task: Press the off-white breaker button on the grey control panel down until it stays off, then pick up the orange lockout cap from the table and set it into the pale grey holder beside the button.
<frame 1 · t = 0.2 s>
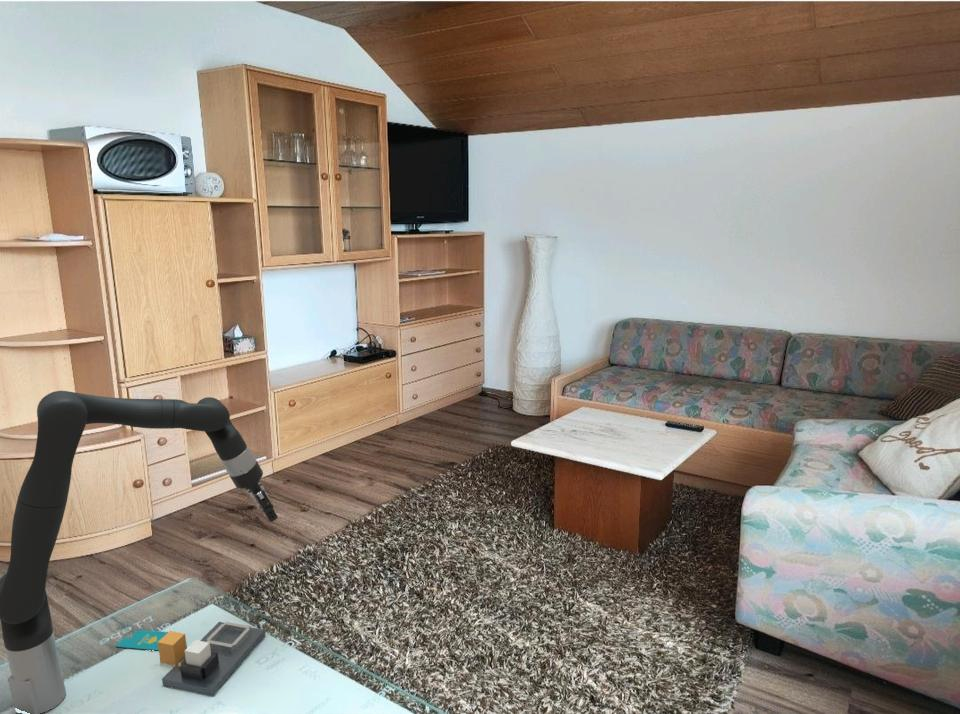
hand: (269, 513, 178), 31 cm above the table, tool tilted 20°, fingers open, 8 cm apart
breaker button: (198, 653, 161), point 6 cm above the table, slide at 0.0 cm
lockout cap: (174, 658, 169), on the table
smartphone: (149, 642, 176), on the table
grey control panel: (216, 659, 168), on the table
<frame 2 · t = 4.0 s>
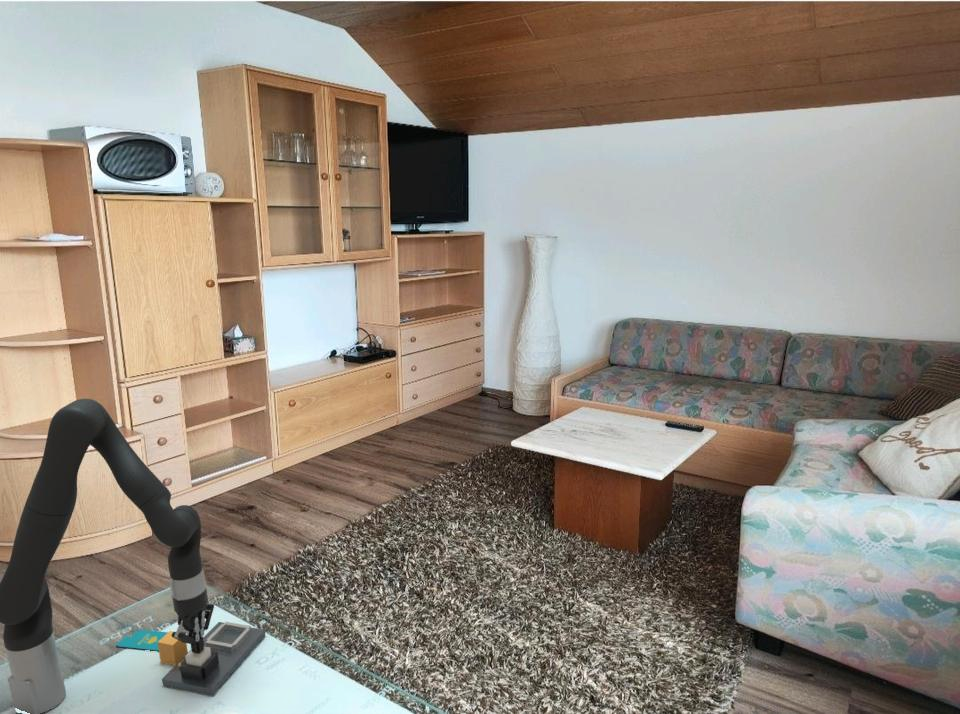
hand: (198, 651, 161), 7 cm above the table, tool pointing down, fingers closed
breaker button: (198, 658, 161), point 5 cm above the table, slide at 1.4 cm, touching gripper
everything else where it was.
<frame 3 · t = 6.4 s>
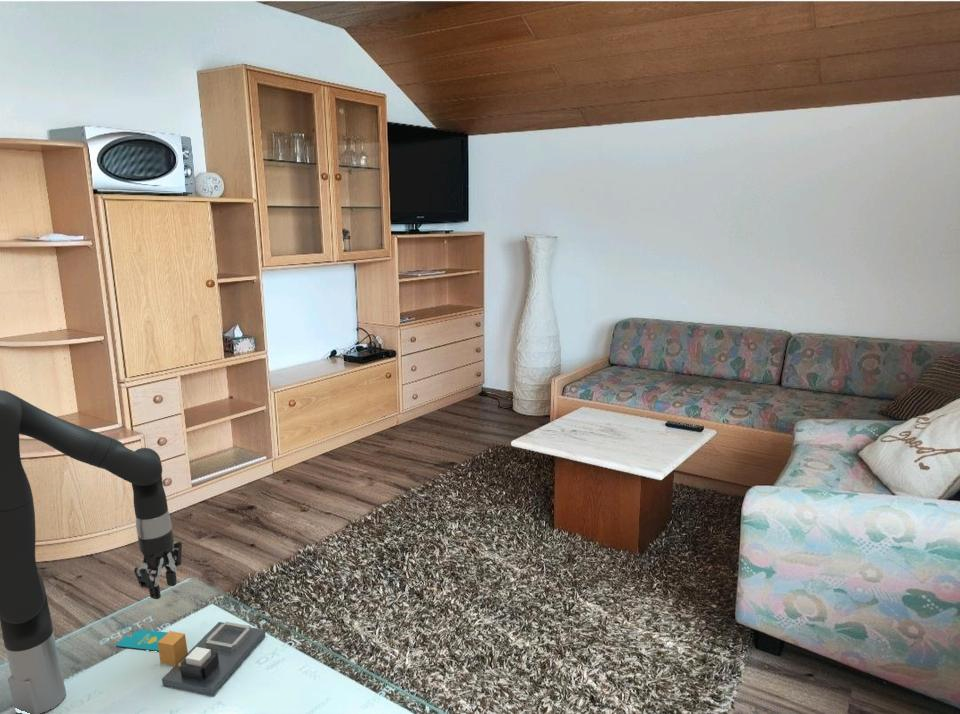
hand: (164, 591, 164), 19 cm above the table, tool pointing down, fingers open, 5 cm apart
breaker button: (199, 660, 161), point 5 cm above the table, slide at 2.0 cm
everything else where it was.
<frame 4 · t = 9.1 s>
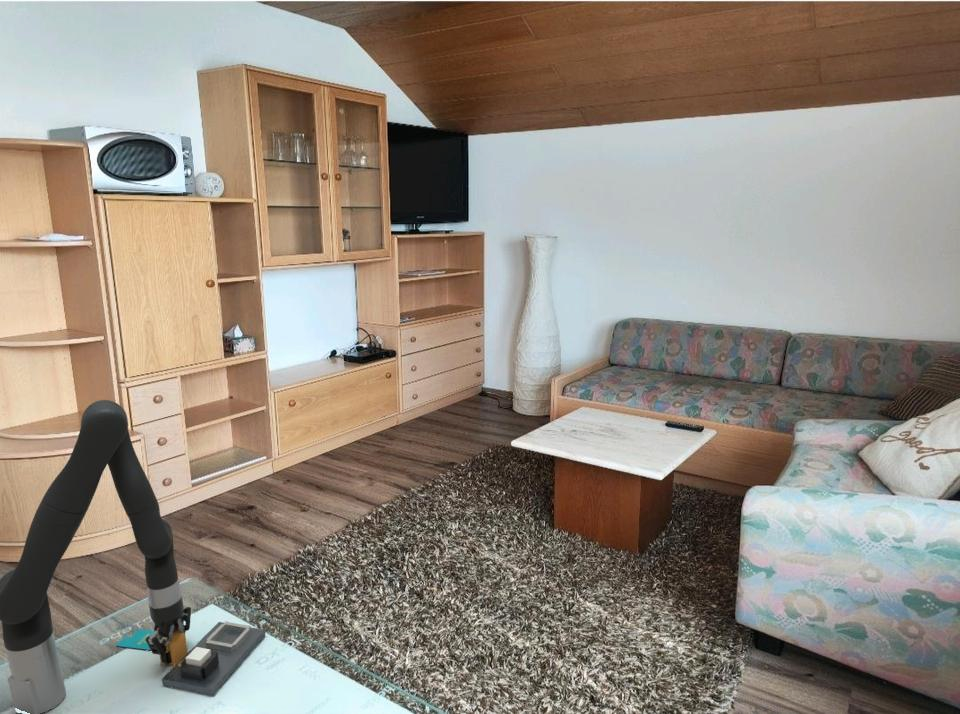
hand: (174, 656, 169), 1 cm above the table, tool pointing down, fingers closed on lockout cap, 4 cm apart
lockout cap: (174, 657, 169), on the table, touching gripper
everything else where it was.
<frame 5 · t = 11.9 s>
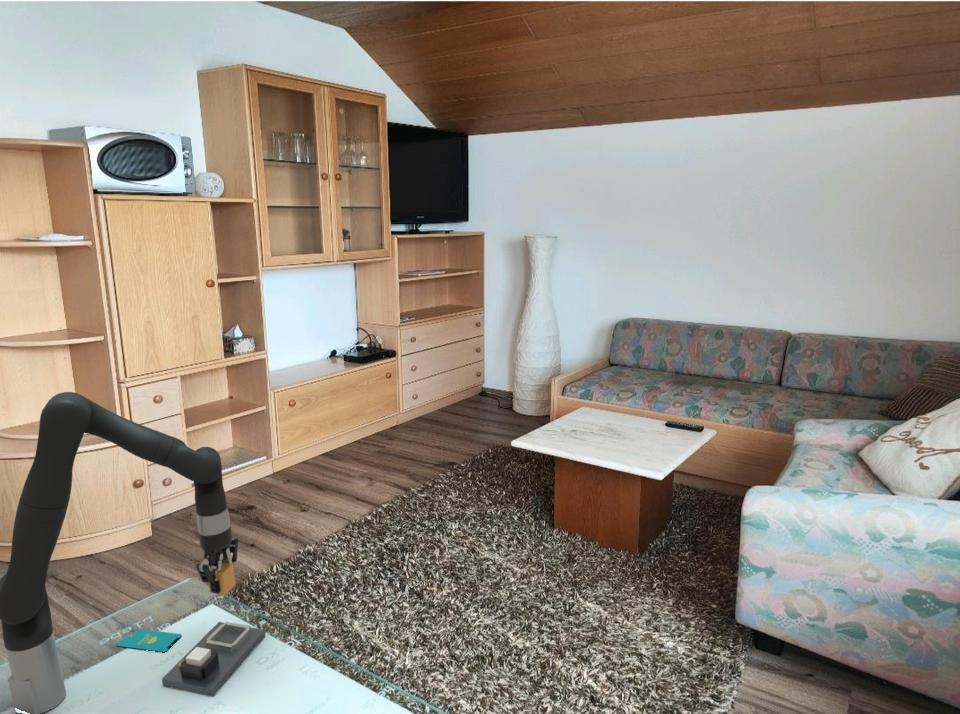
hand: (222, 586, 169), 18 cm above the table, tool pointing down, fingers closed on lockout cap, 4 cm apart
lockout cap: (222, 588, 169), point 17 cm above the table, touching gripper
everything else where it was.
when the fingers open (4 cm above the table, at t = 14.8 s): lockout cap drops 2 cm, resting on grey control panel.
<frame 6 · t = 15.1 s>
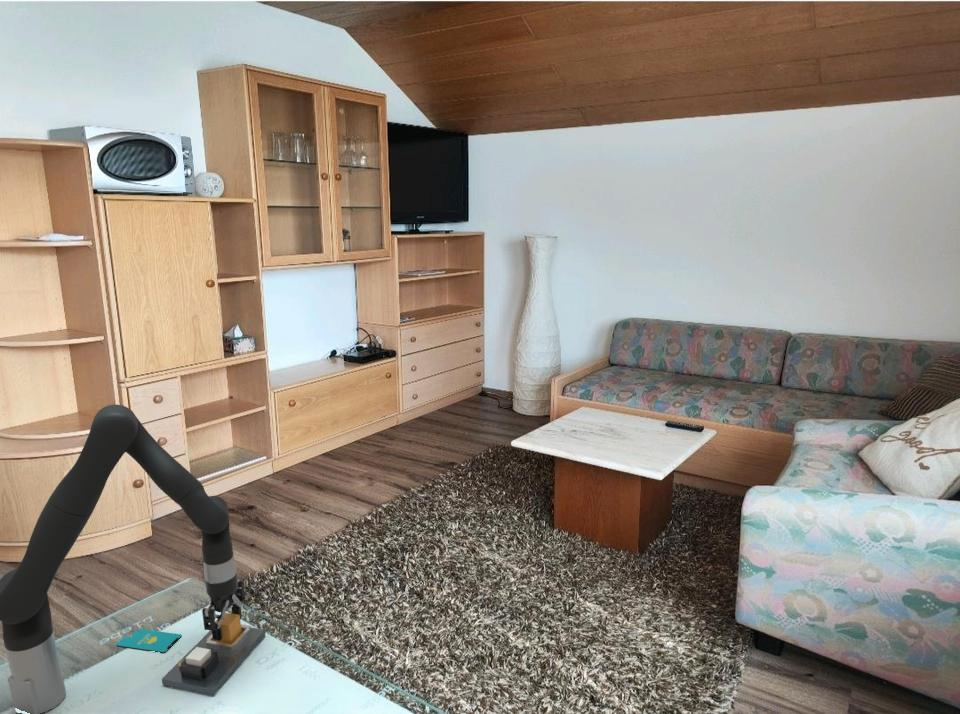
hand: (227, 629, 172), 5 cm above the table, tool pointing down, fingers open, 7 cm apart
lockout cap: (229, 638, 173), point 2 cm above the table, touching grey control panel
everything else where it was.
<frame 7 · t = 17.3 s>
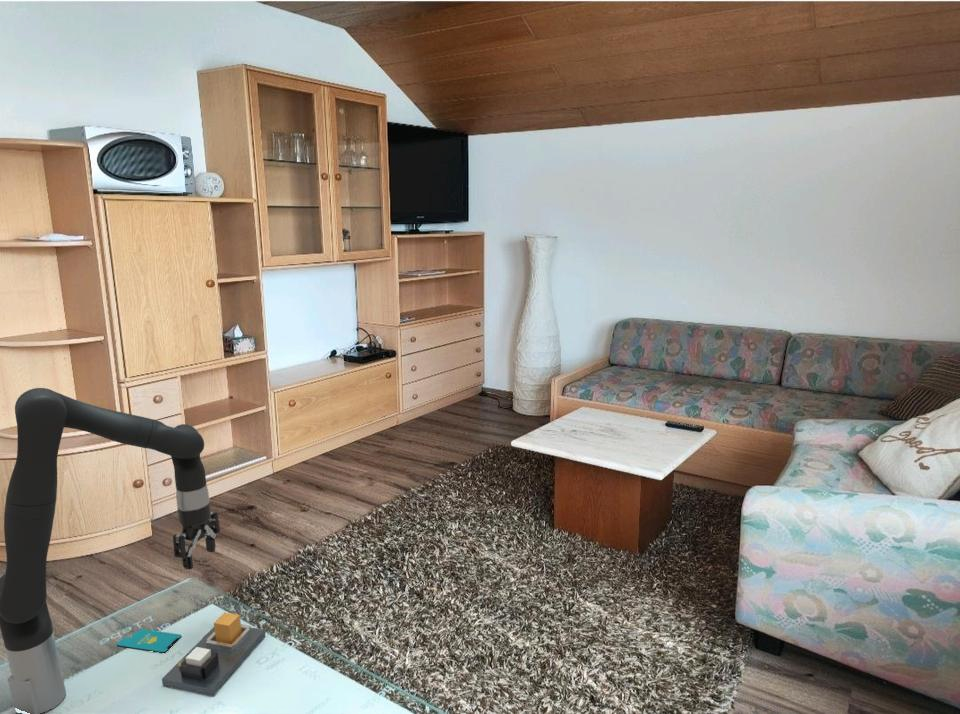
hand: (200, 559, 172), 23 cm above the table, tool pointing down, fingers open, 8 cm apart
nothing on the table moved.
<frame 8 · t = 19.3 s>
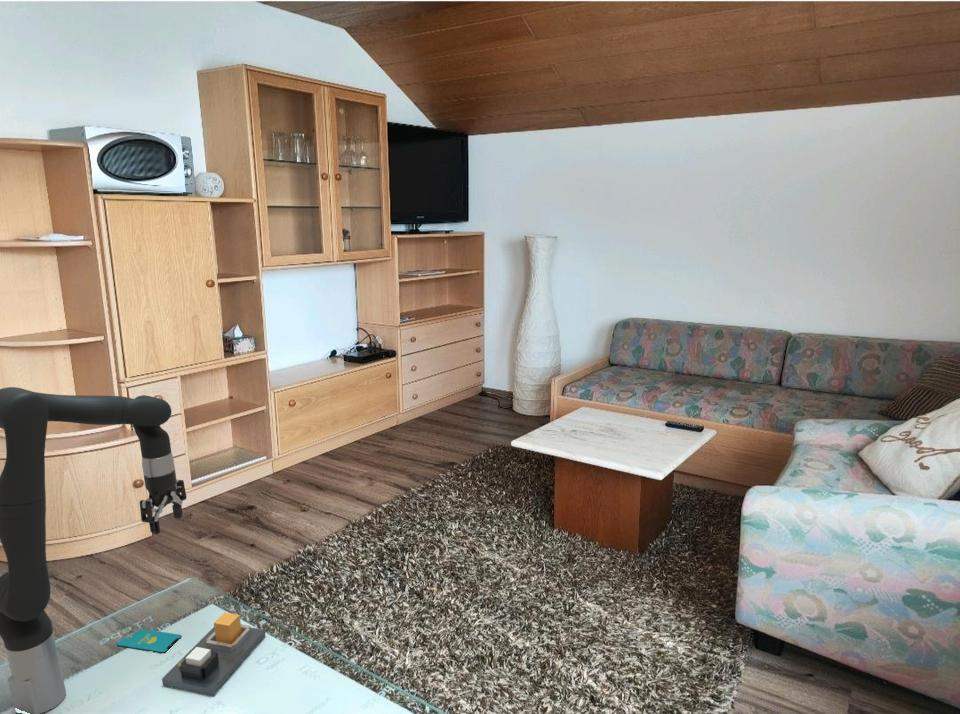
hand: (167, 525, 178), 28 cm above the table, tool pointing down, fingers open, 8 cm apart
nothing on the table moved.
at the end: breaker button slide at 2.0 cm; lockout cap 0.1 cm from the target spot on the grey control panel, point 2.0 cm above the grey control panel's base; lockout cap tilted 0° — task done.
